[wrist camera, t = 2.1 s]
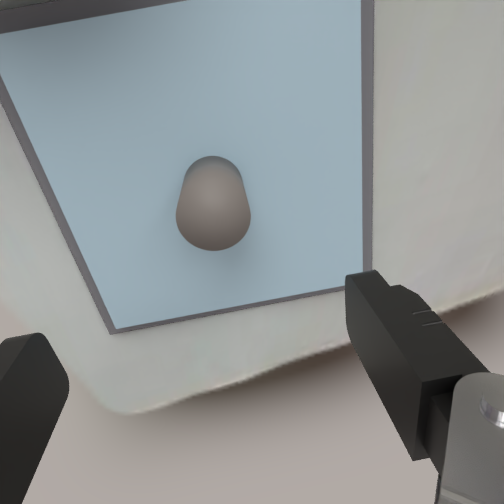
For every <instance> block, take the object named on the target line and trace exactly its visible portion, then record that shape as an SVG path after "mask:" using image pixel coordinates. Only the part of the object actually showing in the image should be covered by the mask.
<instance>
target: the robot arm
mask: <svg viewBox="0 0 504 504" xmlns="http://www.w3.org/2000/svg"><path fill="white" fill-rule="evenodd" d="M345 305H346V325H347V330H348V334H349V337H350V340H351V343H352V345H353V347H354V349H355V350H356V352H357V354H358V356H359V358H360V360H361V362H362V364H363V366H364V368H365V370H366V372H367V374H368V376H369V378H370V379H371V381H372V383H373V385H374V387H375V389H376V391H377V393H378V395H379V397H380V399H381V401H382V403H383V405H384V406H385V408H386V410H387V412H388V414H389V416H390V418H391V420H392V422H393V424H394V426H395V428H396V430H397V432H398V433H399V435H400V437H401V439H402V441H403V443H404V445H405V447H406V449H407V451H408V453H409V455H410V457H411V459H412V461H416V460H421V459H425V458H430V459H431V461H432V462H433V464H434V466H435V468H436V469H437V471H438V473H439V474H438V480H437V487H436V494H435V502H434V504H504V375H500V374H495V373H491V372H490V371H488V370H487V368H486V367H485V366H484V365H483V364H482V363H481V362H480V361H479V360H478V359H477V358H476V357H475V356H474V354H472V352H471V351H470V350H469V349H468V348H467V347H466V346H465V345H464V344H463V343H462V341H460V339H459V338H458V337H457V336H456V335H455V334H454V333H453V332H452V331H451V329H450V328H449V327H448V326H447V325H446V324H445V323H442V320H441V319H440V318H439V316H438V315H437V314H436V313H435V312H434V311H431V308H430V307H429V306H428V305H427V303H426V302H425V301H424V300H423V299H422V298H421V297H420V296H419V295H418V294H416V293H414V292H413V291H411V290H409V289H407V288H405V287H403V286H401V285H395V286H389V284H388V283H387V282H386V281H385V280H384V278H383V277H382V276H381V275H380V274H379V272H378V271H376V270H371V271H365V272H360V273H355V274H349V275H346V277H345ZM68 393H69V380H68V376H67V373H66V371H65V370H64V368H63V366H62V364H61V363H60V361H59V359H58V357H57V356H56V354H55V352H54V350H53V349H52V347H51V345H50V343H49V342H48V340H47V338H46V337H45V336H44V335H43V334H41V333H33V334H27V335H22V336H18V337H12V338H7V339H5V340H4V341H3V342H2V343H1V344H0V504H22V502H23V500H24V497H25V495H26V493H27V490H28V488H29V486H30V483H31V481H32V479H33V476H34V474H35V472H36V469H37V467H38V465H39V462H40V460H41V458H42V455H43V453H44V451H45V448H46V446H47V444H48V442H49V439H50V437H51V435H52V432H53V430H54V428H55V425H56V423H57V421H58V418H59V416H60V414H61V411H62V409H63V407H64V404H65V402H66V400H67V397H68Z"/></svg>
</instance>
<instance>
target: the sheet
mask: <svg viewBox="0 0 504 504" xmlns="http://www.w3.org/2000/svg"><path fill="white" fill-rule="evenodd" d="M0 75H1V77H2V79H3V81H4V84H5V86H6V88H7V90H8V92H9V95H10V97H11V99H12V101H13V103H14V106H15V108H16V110H17V112H18V114H19V117H20V119H21V121H22V123H23V125H24V128H25V130H26V132H27V134H28V136H29V139H30V141H31V143H32V145H33V147H34V150H35V152H36V154H37V156H38V158H39V161H40V163H41V165H42V167H43V169H44V172H45V174H46V176H47V178H48V180H49V183H50V185H51V187H52V189H53V191H54V194H55V196H56V198H57V200H58V202H59V205H60V207H61V209H62V211H63V213H64V216H65V218H66V220H67V222H68V224H69V227H70V229H71V231H72V233H73V235H74V238H75V240H76V242H77V244H78V246H79V249H80V251H81V253H82V255H83V257H84V260H85V262H86V264H87V266H88V269H89V271H90V273H91V275H92V277H93V280H94V282H95V284H96V286H97V288H98V291H99V293H100V295H101V297H102V299H103V302H104V304H105V306H106V308H107V310H108V313H109V315H110V317H111V319H112V321H113V324H114V326H115V328H116V329H119V328H125V327H130V326H135V325H140V324H145V323H151V322H156V321H161V320H166V319H172V318H177V317H182V316H187V315H193V314H198V313H203V312H208V311H214V310H219V309H224V308H229V307H234V306H240V305H245V304H250V303H255V302H261V301H266V300H271V299H276V298H282V297H287V296H292V295H297V294H303V293H308V292H313V291H318V290H323V289H329V288H334V287H339V286H344V285H345V277H346V275H349V274H355V273H360V272H363V241H362V103H361V0H186V1H181V2H175V3H170V4H164V5H159V6H153V7H148V8H142V9H137V10H131V11H125V12H120V13H114V14H109V15H103V16H98V17H92V18H87V19H81V20H76V21H70V22H65V23H59V24H54V25H48V26H42V27H37V28H31V29H26V30H20V31H15V32H9V33H4V34H0Z"/></svg>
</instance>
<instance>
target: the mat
mask: <svg viewBox="0 0 504 504" xmlns="http://www.w3.org/2000/svg"><path fill="white" fill-rule="evenodd" d="M181 1H186V0H57V1H51V2H45V3H40V4H34V5H29V6H23V7H18V8H12V9H7V10H1V11H0V34H4V33H9V32H15V31H20V30H26V29H31V28H37V27H42V26H48V25H54V24H59V23H65V22H70V21H76V20H81V19H87V18H92V17H98V16H103V15H109V14H114V13H120V12H125V11H131V10H137V9H142V8H148V7H153V6H159V5H164V4H170V3H175V2H181ZM373 76H374V0H361V103H362V241H363V272H365V271H371V270H372V203H373ZM0 102H1V104H2V106H3V108H4V110H5V112H6V114H7V117H8V119H9V121H10V123H11V125H12V127H13V129H14V131H15V134H16V136H17V138H18V140H19V142H20V144H21V146H22V148H23V151H24V153H25V155H26V157H27V159H28V161H29V163H30V165H31V168H32V170H33V172H34V174H35V176H36V178H37V180H38V182H39V185H40V187H41V189H42V191H43V193H44V195H45V197H46V199H47V202H48V204H49V206H50V208H51V210H52V212H53V214H54V217H55V219H56V221H57V223H58V225H59V227H60V229H61V231H62V234H63V236H64V238H65V240H66V242H67V244H68V246H69V248H70V251H71V253H72V255H73V257H74V259H75V261H76V263H77V265H78V268H79V270H80V272H81V274H82V276H83V278H84V280H85V282H86V285H87V287H88V289H89V291H90V293H91V295H92V297H93V299H94V302H95V304H96V306H97V308H98V310H99V312H100V314H101V316H102V319H103V321H104V323H105V325H106V327H107V329H108V331H109V334H110V335H111V334H116V333H122V332H127V331H132V330H137V329H142V328H148V327H153V326H158V325H163V324H169V323H174V322H179V321H184V320H190V319H195V318H200V317H205V316H210V315H216V314H221V313H226V312H231V311H237V310H242V309H247V308H252V307H258V306H263V305H268V304H273V303H278V302H284V301H289V300H294V299H299V298H305V297H310V296H315V295H320V294H326V293H331V292H336V291H341V290H345V285H344V286H339V287H334V288H329V289H323V290H318V291H313V292H308V293H303V294H297V295H292V296H287V297H282V298H276V299H271V300H266V301H261V302H255V303H250V304H245V305H240V306H234V307H229V308H224V309H219V310H214V311H208V312H203V313H198V314H193V315H187V316H182V317H177V318H172V319H166V320H161V321H156V322H151V323H145V324H140V325H135V326H130V327H125V328H119V329H116V328H115V326H114V324H113V321H112V319H111V317H110V315H109V313H108V310H107V308H106V306H105V304H104V302H103V299H102V297H101V295H100V293H99V291H98V288H97V286H96V284H95V282H94V280H93V277H92V275H91V273H90V271H89V269H88V266H87V264H86V262H85V260H84V257H83V255H82V253H81V251H80V249H79V246H78V244H77V242H76V240H75V238H74V235H73V233H72V231H71V229H70V227H69V224H68V222H67V220H66V218H65V216H64V213H63V211H62V209H61V207H60V205H59V202H58V200H57V198H56V196H55V194H54V191H53V189H52V187H51V185H50V183H49V180H48V178H47V176H46V174H45V172H44V169H43V167H42V165H41V163H40V161H39V158H38V156H37V154H36V152H35V150H34V147H33V145H32V143H31V141H30V139H29V136H28V134H27V132H26V130H25V128H24V125H23V123H22V121H21V119H20V117H19V114H18V112H17V110H16V108H15V106H14V103H13V101H12V99H11V97H10V95H9V92H8V90H7V88H6V86H5V84H4V81H3V79H2V77H1V75H0Z"/></svg>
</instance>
